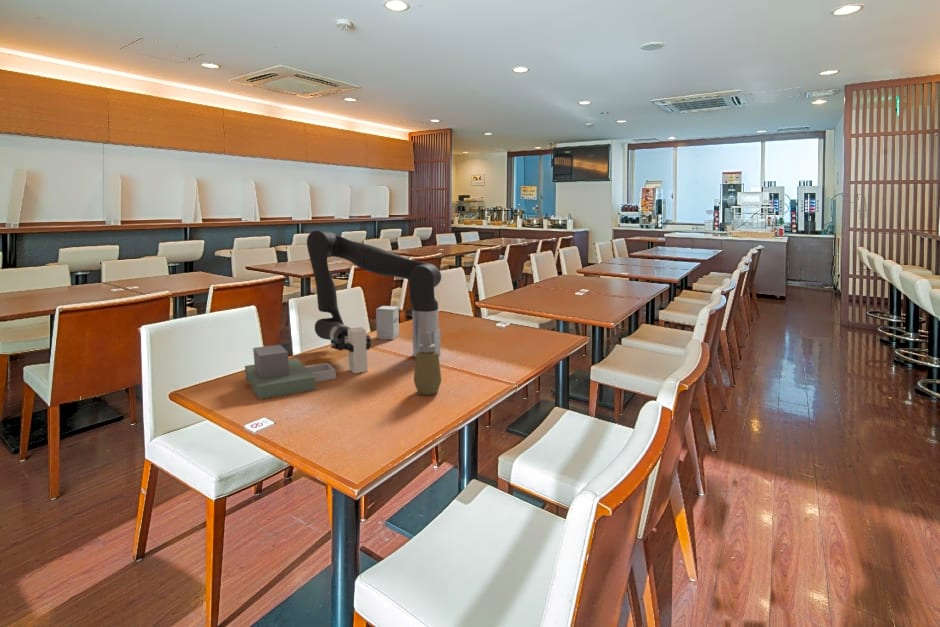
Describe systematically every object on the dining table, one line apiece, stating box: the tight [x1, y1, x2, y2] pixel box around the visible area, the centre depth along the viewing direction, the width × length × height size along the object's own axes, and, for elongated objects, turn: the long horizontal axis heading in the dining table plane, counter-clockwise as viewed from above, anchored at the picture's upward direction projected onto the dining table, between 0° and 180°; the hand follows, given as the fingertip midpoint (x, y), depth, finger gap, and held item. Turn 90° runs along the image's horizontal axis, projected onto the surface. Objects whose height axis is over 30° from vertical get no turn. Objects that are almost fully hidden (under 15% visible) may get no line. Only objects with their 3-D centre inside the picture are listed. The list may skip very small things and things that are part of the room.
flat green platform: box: [244, 344, 337, 400], centre depth 163 cm, size 24×22×11 cm
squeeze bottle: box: [413, 332, 442, 396], centre depth 153 cm, size 8×8×18 cm
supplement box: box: [375, 305, 400, 341], centre depth 217 cm, size 7×7×13 cm
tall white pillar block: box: [348, 326, 369, 374], centre depth 173 cm, size 5×5×14 cm
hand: (360, 347), depth 171 cm, fingers closed on tall white pillar block, 4 cm apart
